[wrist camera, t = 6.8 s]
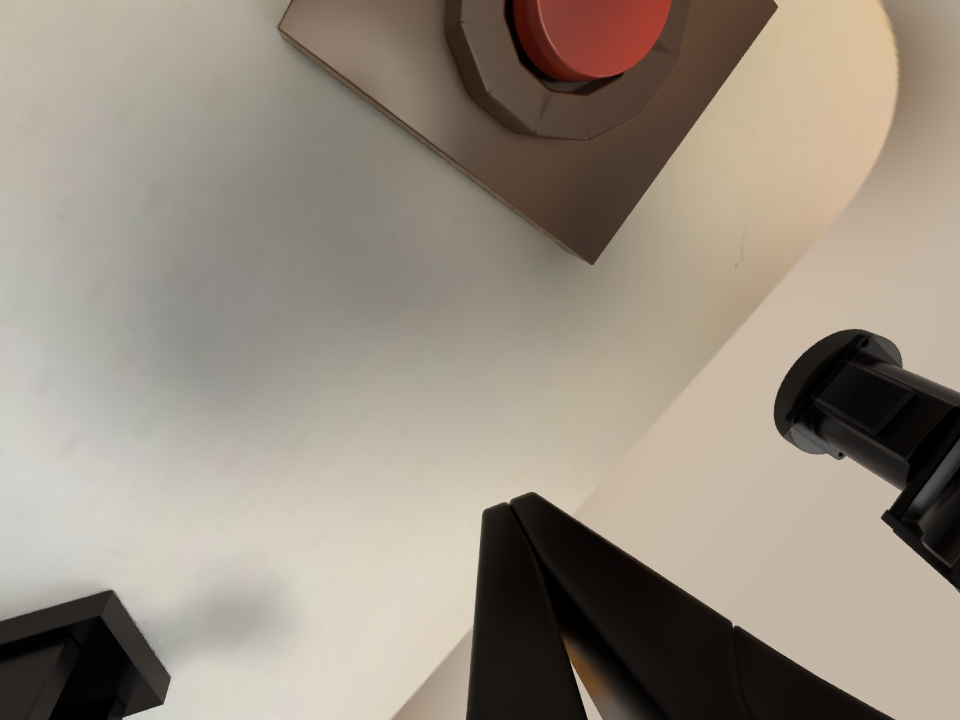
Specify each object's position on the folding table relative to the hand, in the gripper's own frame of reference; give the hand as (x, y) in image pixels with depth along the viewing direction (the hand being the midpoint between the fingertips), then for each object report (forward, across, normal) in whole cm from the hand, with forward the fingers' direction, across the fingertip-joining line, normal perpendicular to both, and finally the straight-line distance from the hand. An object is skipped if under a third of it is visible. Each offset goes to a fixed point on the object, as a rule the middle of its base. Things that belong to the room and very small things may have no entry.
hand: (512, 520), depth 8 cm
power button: (+9, -6, -7) cm, 13 cm away
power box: (+12, -6, -7) cm, 16 cm away
